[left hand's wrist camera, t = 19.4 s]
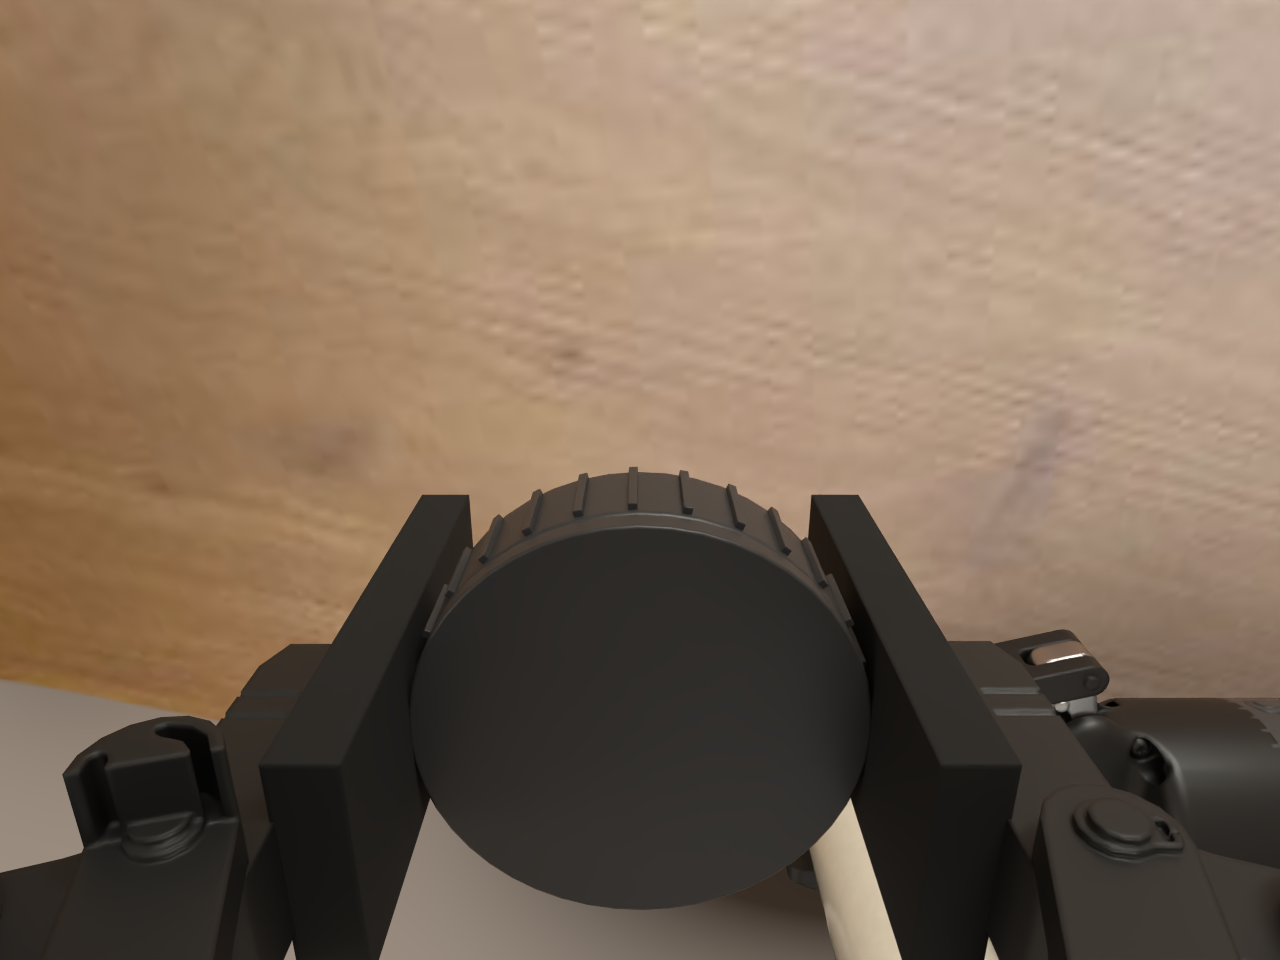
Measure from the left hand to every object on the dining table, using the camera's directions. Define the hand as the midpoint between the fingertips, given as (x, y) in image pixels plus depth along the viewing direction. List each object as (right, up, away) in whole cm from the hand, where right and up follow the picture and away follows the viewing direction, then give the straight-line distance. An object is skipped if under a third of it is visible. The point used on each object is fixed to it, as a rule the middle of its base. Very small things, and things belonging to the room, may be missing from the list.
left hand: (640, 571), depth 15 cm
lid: (0, -1, -4) cm, 4 cm away
